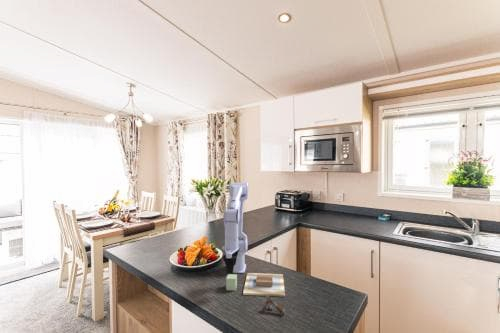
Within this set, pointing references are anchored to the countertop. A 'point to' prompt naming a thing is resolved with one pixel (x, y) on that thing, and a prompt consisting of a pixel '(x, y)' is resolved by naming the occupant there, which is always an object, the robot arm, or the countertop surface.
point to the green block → (231, 282)
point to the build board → (264, 292)
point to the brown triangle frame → (273, 305)
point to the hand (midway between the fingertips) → (231, 268)
